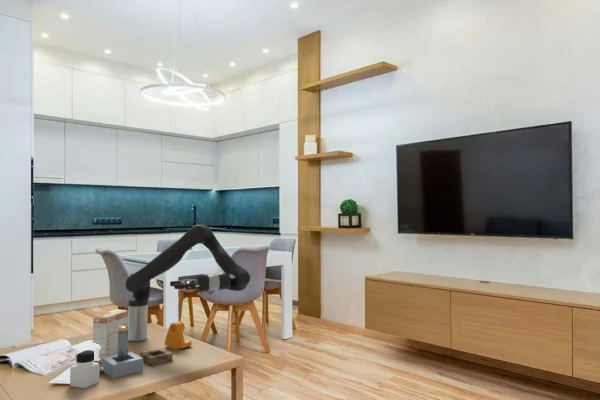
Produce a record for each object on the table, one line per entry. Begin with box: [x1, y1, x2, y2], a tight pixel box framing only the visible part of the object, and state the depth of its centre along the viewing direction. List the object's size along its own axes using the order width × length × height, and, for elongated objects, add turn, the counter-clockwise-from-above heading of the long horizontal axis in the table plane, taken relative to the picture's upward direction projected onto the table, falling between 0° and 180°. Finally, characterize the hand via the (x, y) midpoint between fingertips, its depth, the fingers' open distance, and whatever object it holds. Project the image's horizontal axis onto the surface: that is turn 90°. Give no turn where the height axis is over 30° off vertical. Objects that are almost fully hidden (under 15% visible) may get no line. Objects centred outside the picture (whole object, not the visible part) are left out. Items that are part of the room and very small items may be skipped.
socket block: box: [139, 348, 174, 366], centre depth 194 cm, size 10×10×3 cm
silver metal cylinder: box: [117, 326, 129, 362], centre depth 181 cm, size 4×4×16 cm
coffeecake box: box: [92, 308, 128, 363], centre depth 198 cm, size 15×7×20 cm, turn 164°
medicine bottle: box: [69, 349, 100, 389], centre depth 166 cm, size 7×7×12 cm
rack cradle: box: [101, 351, 144, 379], centre depth 180 cm, size 12×12×5 cm
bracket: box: [164, 320, 192, 350], centre depth 214 cm, size 11×7×12 cm, turn 62°
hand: (172, 285), depth 198 cm, fingers open, 8 cm apart
